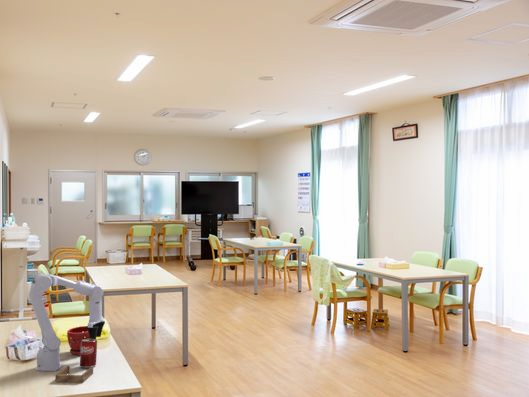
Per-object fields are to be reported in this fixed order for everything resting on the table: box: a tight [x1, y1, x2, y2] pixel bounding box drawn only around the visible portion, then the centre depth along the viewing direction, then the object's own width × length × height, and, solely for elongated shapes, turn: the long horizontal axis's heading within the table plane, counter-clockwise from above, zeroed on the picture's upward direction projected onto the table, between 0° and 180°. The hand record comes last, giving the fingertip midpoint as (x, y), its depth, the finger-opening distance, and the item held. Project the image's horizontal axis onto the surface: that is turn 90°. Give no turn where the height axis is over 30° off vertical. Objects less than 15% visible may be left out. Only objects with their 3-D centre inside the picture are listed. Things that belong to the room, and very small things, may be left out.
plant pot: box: [66, 325, 90, 356], centre depth 278 cm, size 13×13×12 cm
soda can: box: [79, 338, 98, 369], centre depth 256 cm, size 7×7×12 cm
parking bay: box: [55, 366, 94, 384], centre depth 242 cm, size 12×12×3 cm
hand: (95, 338), depth 266 cm, fingers open, 6 cm apart
